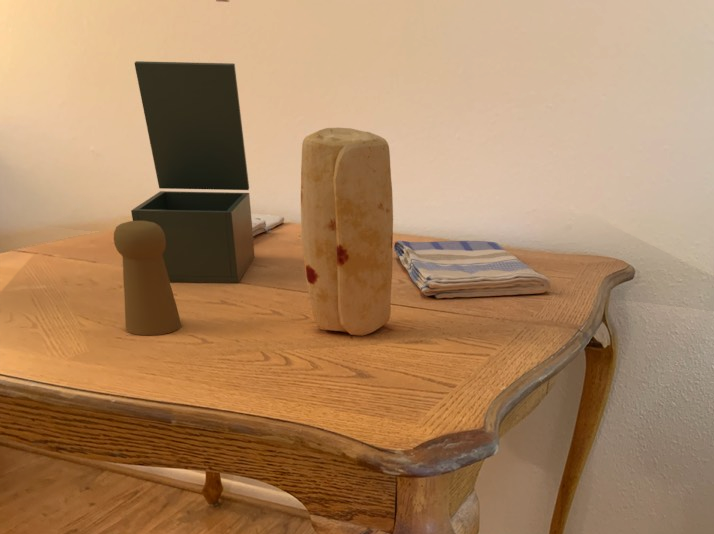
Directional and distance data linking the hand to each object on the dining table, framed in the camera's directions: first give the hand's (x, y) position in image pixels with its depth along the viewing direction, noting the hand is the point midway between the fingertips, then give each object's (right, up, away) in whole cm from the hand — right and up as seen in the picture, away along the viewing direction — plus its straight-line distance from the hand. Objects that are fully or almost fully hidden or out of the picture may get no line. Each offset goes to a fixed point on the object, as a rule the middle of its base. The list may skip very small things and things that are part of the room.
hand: (185, 1), depth 98 cm
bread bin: (0, -31, +10) cm, 32 cm away
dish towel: (+37, -32, +10) cm, 49 cm away
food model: (+22, -45, -11) cm, 52 cm away
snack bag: (-4, -17, +32) cm, 36 cm away
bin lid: (0, -14, +5) cm, 15 cm away
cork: (0, -45, -12) cm, 47 cm away
